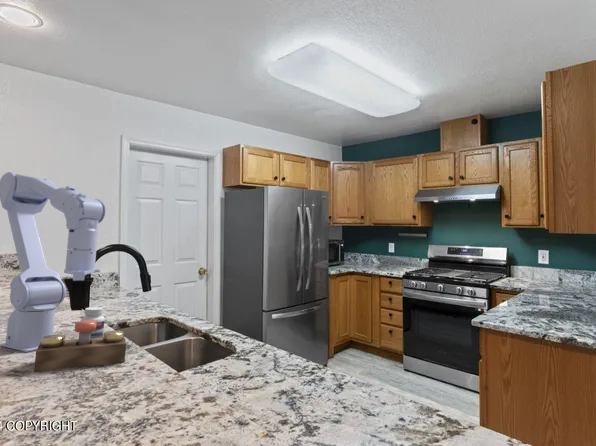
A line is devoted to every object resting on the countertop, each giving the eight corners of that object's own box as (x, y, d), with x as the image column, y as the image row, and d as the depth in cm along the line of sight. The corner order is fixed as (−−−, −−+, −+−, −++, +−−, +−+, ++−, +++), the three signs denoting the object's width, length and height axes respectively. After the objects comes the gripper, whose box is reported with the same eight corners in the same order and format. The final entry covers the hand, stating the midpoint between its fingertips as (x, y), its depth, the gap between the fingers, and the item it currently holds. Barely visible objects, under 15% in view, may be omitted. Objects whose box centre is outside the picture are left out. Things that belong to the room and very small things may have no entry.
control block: (33, 372, 67) (36, 351, 67) (38, 361, 73) (40, 342, 73) (124, 362, 75) (126, 343, 76) (122, 352, 81) (123, 335, 82)
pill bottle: (91, 347, 84) (94, 311, 85) (73, 345, 85) (76, 309, 86) (107, 342, 89) (110, 307, 90) (90, 339, 90) (93, 305, 91)
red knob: (72, 351, 72) (74, 325, 72) (73, 345, 75) (75, 321, 75) (94, 349, 74) (96, 323, 74) (94, 344, 77) (96, 319, 78)
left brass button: (37, 367, 69) (40, 340, 69) (40, 361, 72) (43, 335, 72) (61, 365, 71) (64, 338, 71) (63, 359, 74) (66, 333, 75)
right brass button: (101, 361, 74) (103, 335, 75) (100, 355, 78) (103, 331, 78) (121, 358, 76) (124, 334, 77) (120, 353, 80) (122, 330, 80)
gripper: (102, 251, 74) (97, 314, 73) (101, 250, 87) (96, 304, 86) (63, 250, 71) (57, 316, 70) (67, 249, 83) (62, 305, 82)
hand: (76, 310), depth 77 cm, fingers closed
